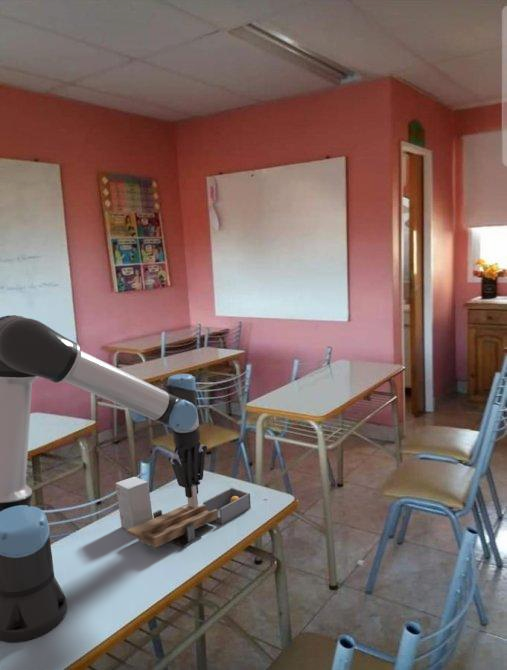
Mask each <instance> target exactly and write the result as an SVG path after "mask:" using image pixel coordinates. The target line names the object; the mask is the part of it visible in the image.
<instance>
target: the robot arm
mask: <svg viewBox="0 0 507 670" xmlns="http://www.w3.org/2000/svg"><path fill="white" fill-rule="evenodd" d="M194 377H195V376H193V375H192V374H190V373H176V374H172V375H171V376H168V377H167V383H166V385H164V386H159V387H158V386H156V385H153V384H151V383H149V382H147V381H145V380H143V379H141V378H139V377H137V376H135V375H133V374H131V373H128V372H126V371H125V370H122V369H120V368H119V367H116V366H114V365H112V364H110V363H108V362H106V361H103V360H102V359H100V358H97V357H95V356H93V355H91V354H89V353H87V352H85V351H83V350H81V349H80V345H79V344H78V343H77V342H75V341H73V340H71V339H69V338H67V337H65V336H64V335H62V334H60V333H59V332H58V331H55V330H54V329H52V328H51V327H50V326H49V325H46V324H45V323H42V321H39V320H36V319H33V318H27V317H24V316H21V315H15V314H13V315H4V316H0V641H2V642H7V643H9V642H10V643H19V642H25V641H29V640H34V639H36V638H39V637H40V636H43V635H45V634H47V633H48V632H50V631H52V630H53V629H55V628H56V627H57V626H58V625H59V624H60V623H61V622H62V621H63V619H64V618H65V616H66V614H67V611H68V605H67V598H66V595H65V593H64V591H63V589H62V588H61V585H60V583H59V582H58V581H57V578H56V576H55V571H54V562H53V553H52V544H51V535H50V524H49V522H48V518H47V517H48V516H47V515H46V513H45V511H43V510H42V509H41V508H39V507H37V506H34V505H32V500H33V499H32V498H33V490H32V488H31V487H30V486H28V485H27V482H26V481H27V469H28V468H27V467H28V452H29V439H30V424H31V423H30V422H31V421H30V420H31V410H32V409H31V408H32V407H31V406H32V391H33V390H32V388H33V383H34V382H35V381H36V380H37V379H38V378H42V379H44V380H45V379H46V380H48V381H50V382H53V383H56V384H61V383H63V382H65V383H67V384H70V385H71V386H74V387H76V388H79V389H81V390H84V391H86V392H88V393H90V394H93V395H95V396H97V397H100V398H102V399H104V400H107V401H109V402H111V403H113V404H116V405H118V406H120V407H123V408H125V409H127V410H128V413H129V415H130V417H131V419H132V421H134V422H136V423H137V422H143V421H144V422H145V421H148V420H152V421H154V422H157V423H159V424H162V425H164V426H166V427H169V428H170V429H172V438H173V439H172V440H173V444H174V445H175V449H174V455H173V456H171V457H169V458H168V462H169V464H171V467H172V469H173V471H174V472H173V473H174V474H175V479H176V480H177V481H176V482H177V484H178V486H179V487H182V488H184V493H185V497H186V498H187V504H188V506H190V507H193V508H196V507H199V502H198V501H199V500H198V495H199V486H200V484H201V481H202V480H203V478H204V469H205V461H206V452H207V449H208V446H207V445H204V444H201V442H200V441H201V436H200V435H201V434H200V432H201V431H200V428H199V425H200V423H199V412H198V401H197V387H196V381H195V378H194Z"/></svg>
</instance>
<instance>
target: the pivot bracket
mask: <svg viewBox="0 0 507 670" xmlns="http://www.w3.org/2000/svg"><path fill="white" fill-rule="evenodd" d="M152 515H153V519H154V518H156V517H158V516H161V515H163V511H162V509H159V510H157V511H155V512H152ZM195 530H196V529H194V524H191V525H189V526H187V527H185V531H186V533H185V534H183V535H181V536H179V537H177V538H175V539H173V540H170V541H169V542H171V543H174V544H176V545H178V546H180V547H182V548H186V547H188V546H189V545H192V544H193V543H196V542H197V541H199V540H200V539H202V535H200V534H198V533H196V532H195Z"/></svg>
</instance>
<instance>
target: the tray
mask: <svg viewBox="0 0 507 670" xmlns="http://www.w3.org/2000/svg"><path fill="white" fill-rule="evenodd" d="M233 496H238V497H239V499H237V500H235V501H233V502H231V503H230V499H231V498H232V497H233ZM202 505H206V510H207V511H209V512H210V511H212V510H214V509H217V510H218V518H217V519H215V520H213V521H214V522H216V523H218V524H221V525H224V524H225V523H227V522H229V521H231V520H232V519H234V518H235V517H237V516H239V515H241V514H243V513H244V512H246V511H248V510H249V508H250V509H251V508H252V506H251V493H249V492H246V491H243V490H240V489H238V488H234V487H230V488H228V489H226V490H224V491H222V492H221V493H219V494H216V495H215V496H212V497H211V498H208V499H206V500H204V501H203V502H202ZM247 509H248V510H247ZM213 521H212V522H213Z"/></svg>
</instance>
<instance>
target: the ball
mask: <svg viewBox="0 0 507 670" xmlns="http://www.w3.org/2000/svg"><path fill="white" fill-rule="evenodd" d="M237 499H239V497H238V496H233V497H232V498H231V499H230V503H231V502H233V501H235V500H237Z"/></svg>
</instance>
